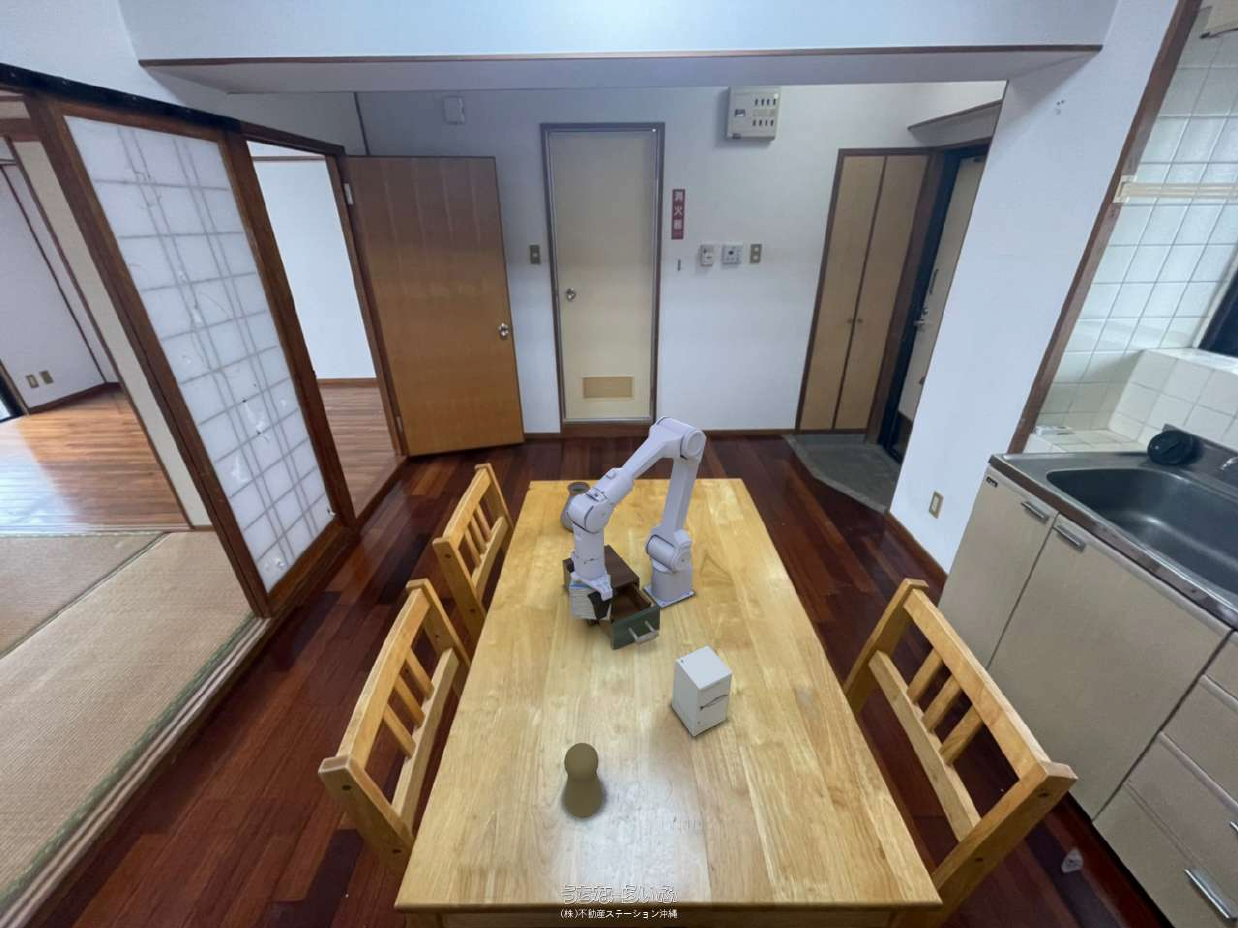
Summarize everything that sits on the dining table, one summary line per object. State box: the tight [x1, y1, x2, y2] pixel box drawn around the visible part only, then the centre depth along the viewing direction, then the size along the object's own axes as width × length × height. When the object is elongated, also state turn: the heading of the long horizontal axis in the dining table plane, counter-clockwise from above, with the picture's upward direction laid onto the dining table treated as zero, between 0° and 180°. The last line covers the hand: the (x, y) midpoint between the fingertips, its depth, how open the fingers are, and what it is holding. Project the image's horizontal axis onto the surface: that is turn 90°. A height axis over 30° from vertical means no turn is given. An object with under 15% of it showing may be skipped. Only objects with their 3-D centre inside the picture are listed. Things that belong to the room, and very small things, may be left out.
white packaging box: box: [671, 644, 733, 737], centre depth 92 cm, size 7×7×13 cm
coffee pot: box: [559, 480, 635, 533], centre depth 147 cm, size 21×12×15 cm, turn 92°
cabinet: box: [562, 544, 640, 625], centre depth 122 cm, size 15×13×8 cm
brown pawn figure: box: [563, 742, 604, 819], centre depth 80 cm, size 6×6×11 cm
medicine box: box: [568, 575, 611, 620], centre depth 105 cm, size 8×4×9 cm, turn 85°
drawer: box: [597, 583, 661, 650], centre depth 112 cm, size 18×11×6 cm, turn 29°
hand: (592, 604), depth 106 cm, fingers closed on medicine box, 7 cm apart
